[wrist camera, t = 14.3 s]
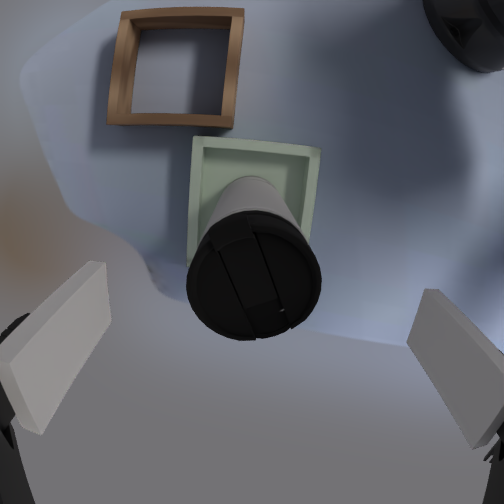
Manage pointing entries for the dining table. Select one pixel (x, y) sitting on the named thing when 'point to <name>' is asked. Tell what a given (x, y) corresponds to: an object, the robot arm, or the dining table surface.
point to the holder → (172, 19)
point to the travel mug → (253, 265)
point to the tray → (249, 164)
